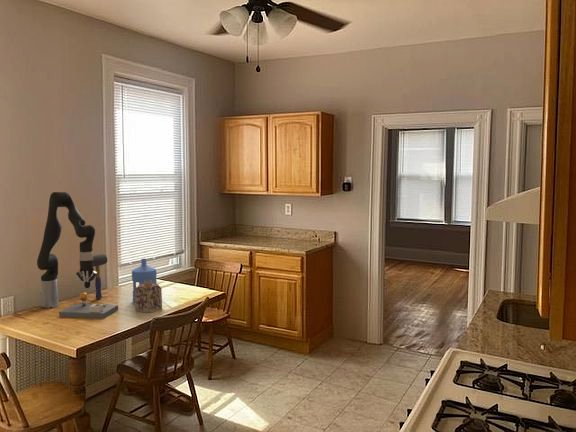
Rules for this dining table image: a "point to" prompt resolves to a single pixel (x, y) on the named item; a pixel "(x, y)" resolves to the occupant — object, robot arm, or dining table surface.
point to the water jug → (143, 275)
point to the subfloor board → (87, 311)
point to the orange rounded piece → (83, 298)
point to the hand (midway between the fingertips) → (87, 287)
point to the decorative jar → (148, 297)
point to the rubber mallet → (97, 262)
